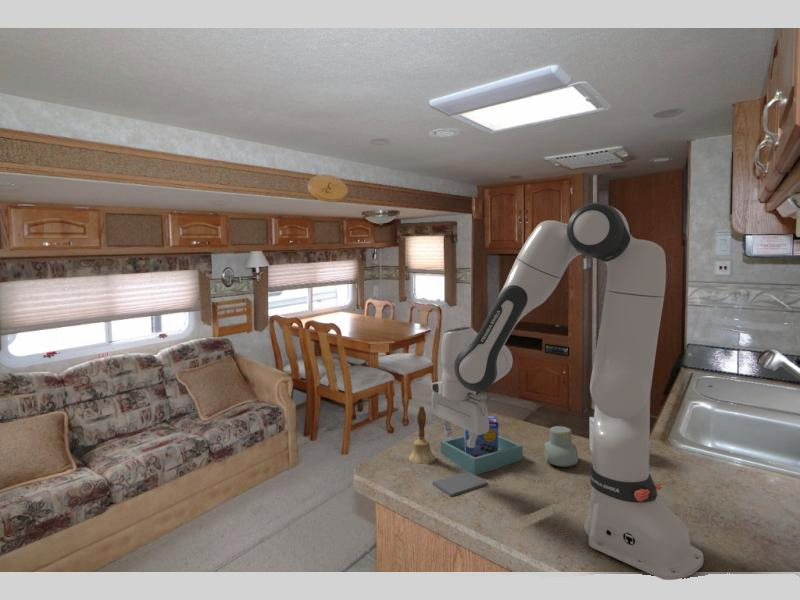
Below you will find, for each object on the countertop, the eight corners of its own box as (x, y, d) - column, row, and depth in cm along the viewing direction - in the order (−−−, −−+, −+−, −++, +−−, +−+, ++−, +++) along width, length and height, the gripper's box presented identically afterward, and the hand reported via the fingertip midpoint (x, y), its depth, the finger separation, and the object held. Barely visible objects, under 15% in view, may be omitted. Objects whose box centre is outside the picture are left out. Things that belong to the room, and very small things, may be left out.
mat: (487, 484, 120) (487, 482, 120) (450, 496, 114) (450, 494, 114) (468, 473, 127) (468, 471, 127) (432, 484, 121) (432, 481, 121)
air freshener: (579, 472, 126) (579, 436, 126) (548, 470, 128) (548, 435, 127) (571, 456, 137) (571, 423, 136) (543, 454, 138) (542, 422, 138)
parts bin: (522, 460, 134) (522, 445, 134) (474, 475, 125) (474, 459, 125) (486, 443, 148) (486, 429, 148) (440, 455, 139) (440, 441, 139)
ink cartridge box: (465, 462, 134) (464, 413, 133) (463, 454, 140) (462, 408, 139) (499, 462, 134) (498, 413, 133) (496, 454, 139) (495, 407, 139)
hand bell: (414, 452, 143) (413, 401, 142) (439, 456, 139) (438, 404, 138) (403, 462, 135) (402, 409, 134) (430, 467, 132) (429, 412, 131)
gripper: (495, 396, 111) (495, 451, 112) (445, 379, 129) (446, 427, 130) (474, 400, 108) (475, 457, 109) (427, 383, 126) (428, 432, 127)
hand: (459, 441), depth 120 cm, fingers open, 8 cm apart
